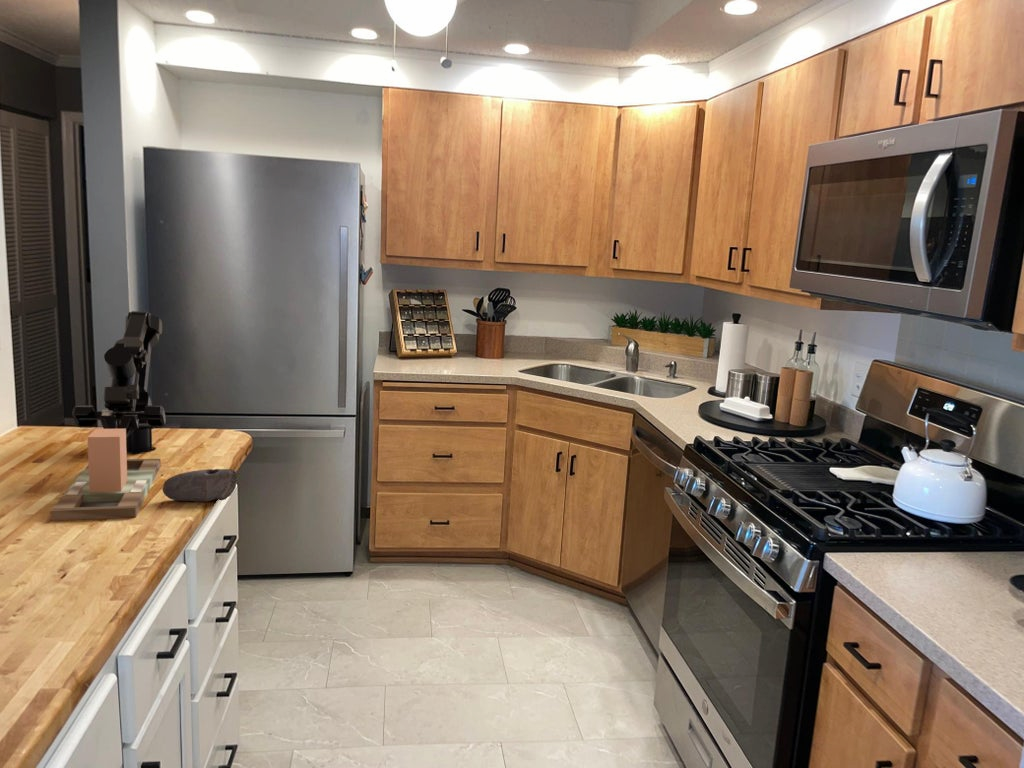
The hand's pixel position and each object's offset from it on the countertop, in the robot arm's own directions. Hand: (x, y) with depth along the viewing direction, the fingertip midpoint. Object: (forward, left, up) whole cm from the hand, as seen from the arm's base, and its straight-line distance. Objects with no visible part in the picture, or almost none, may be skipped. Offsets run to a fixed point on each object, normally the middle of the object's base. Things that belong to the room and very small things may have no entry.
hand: (116, 448), depth 170 cm
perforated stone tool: (-3, +23, -8) cm, 25 cm away
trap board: (+4, +4, -8) cm, 10 cm away
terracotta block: (+6, +6, -6) cm, 11 cm away
